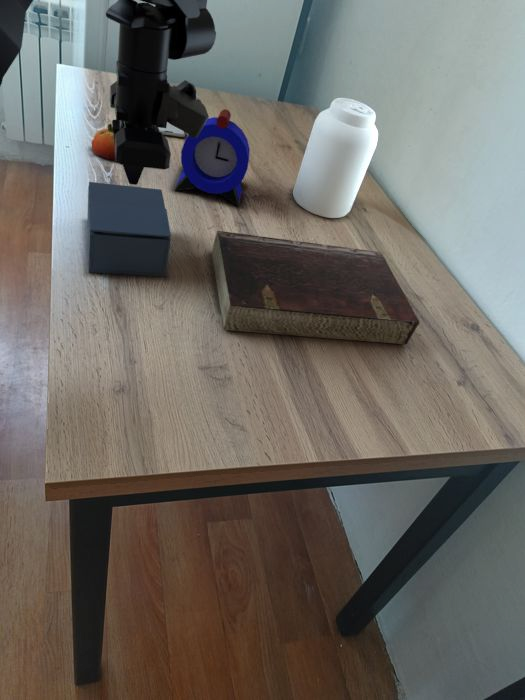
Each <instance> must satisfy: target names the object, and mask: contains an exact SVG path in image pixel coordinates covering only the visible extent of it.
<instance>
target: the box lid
mask: <svg viewBox="0 0 525 700" xmlns="http://www.w3.org/2000/svg"><path fill="white" fill-rule="evenodd" d="M168 217H169V216H168V211H167V209H166V208H165V209H161V208H151V207H140V206H130V205H119V204H109V203H99V202H90V231H93V232H105V233H118V234H131V235H143V236H156V237H169V238H170V239H171V238H172V235H171V234H172V233H171V228H170V222H169V218H168Z"/></svg>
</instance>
